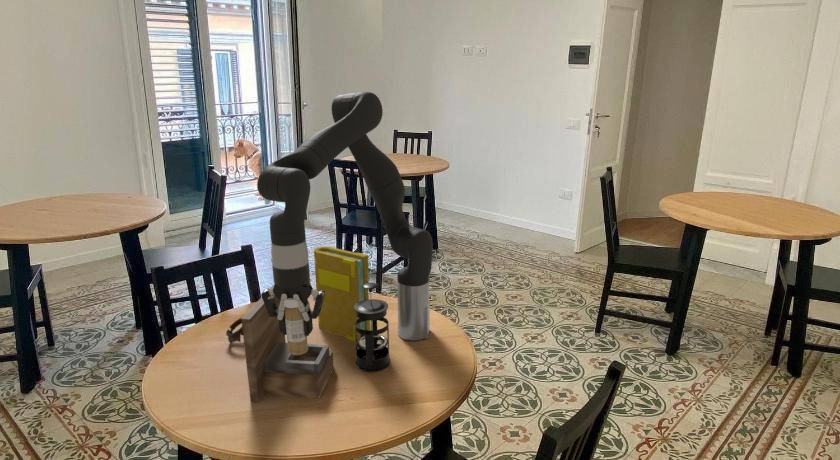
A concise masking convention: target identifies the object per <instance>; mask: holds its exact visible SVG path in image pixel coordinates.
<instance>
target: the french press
mask: <svg viewBox="0 0 840 460" xmlns="http://www.w3.org/2000/svg"><path fill="white" fill-rule="evenodd" d="M379 286H380V285H379V284H378V283H376V282H368V283H365V284H364V285H363V286H362V287H363V288H364V289H368V293H369V299H367V300H363V301H360V302H358V303H356V304H355V306H354V310H355V311H356V316H357V317H358V318H359V319H358V320H356V322H355V341H354V342H355V365H356V368H358V370H360V371H362V372H366V373H376V372H380V371H383V370H385V369H387V368H388V367H389V366H390V363H391V359H390V337H389V336H390V331H389V330H390V329H389V323H390V322H389V320H388V319H387V318H386V316H387V310H388V309H389V304H388V302H386V301H385V300H383V299H382V300H381V299H376V298H372V293H373V290H374V289H375V290H376V289H378V288H379ZM367 320H370V327H371V331H368V330H362V329H360V328H358V327H357V325H358V324H359V323H361V322H363V321H367ZM378 321H380V322H383V323H384V324H386V326H384V327H382V328H379V329H378ZM357 332H358V333H360V334H361V335H362V336H361V337H360V338H359V339H358V340H357ZM383 333H386V334H387V337H386V336H384V335H382V334H383ZM375 356H379V357H381V358H378V359H374V358H375ZM364 358H365V359H364Z"/></svg>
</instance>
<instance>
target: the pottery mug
mask: <svg viewBox="0 0 840 460" xmlns="http://www.w3.org/2000/svg"><path fill="white" fill-rule="evenodd" d="M242 318H243V317H240V318H238V319H236V320H235V321H234V322H232V323H231V324H230V326H229V329H227V330H226V332H225V335H226V336H227V340H228V342H229V343H235V342H240V343H241V342H242V341H241V336H243V328H242V326H241V327H239V329H238V330H236V331H234V330H235V329H236V328H237V327H238V326H240V325H242Z"/></svg>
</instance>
